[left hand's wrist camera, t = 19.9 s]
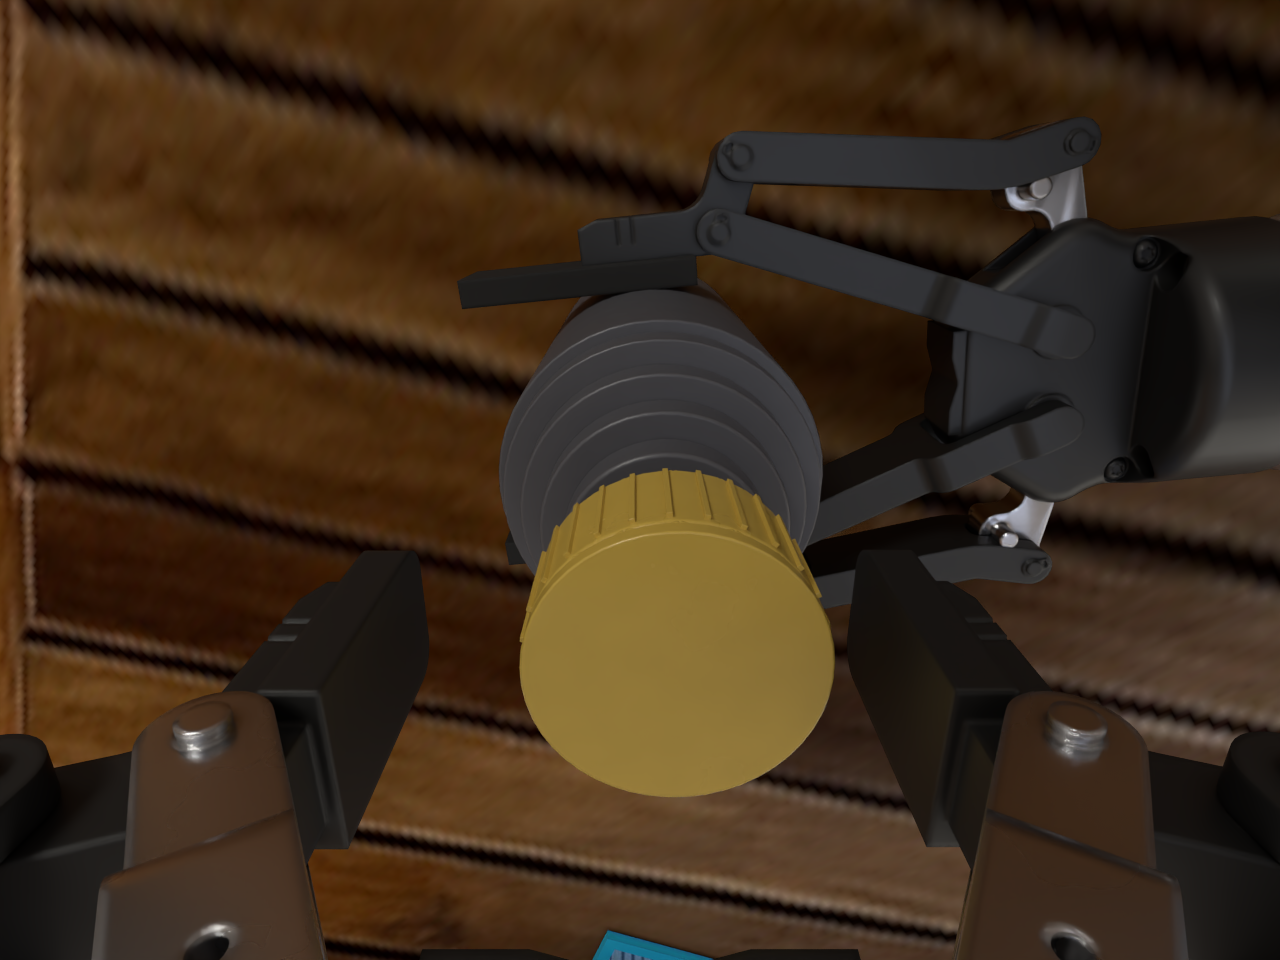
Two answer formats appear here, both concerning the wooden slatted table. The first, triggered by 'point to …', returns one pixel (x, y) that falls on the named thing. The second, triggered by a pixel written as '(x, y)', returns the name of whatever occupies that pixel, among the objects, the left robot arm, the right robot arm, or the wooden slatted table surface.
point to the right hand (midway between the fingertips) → (494, 420)
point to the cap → (675, 637)
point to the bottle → (656, 412)
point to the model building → (639, 950)
